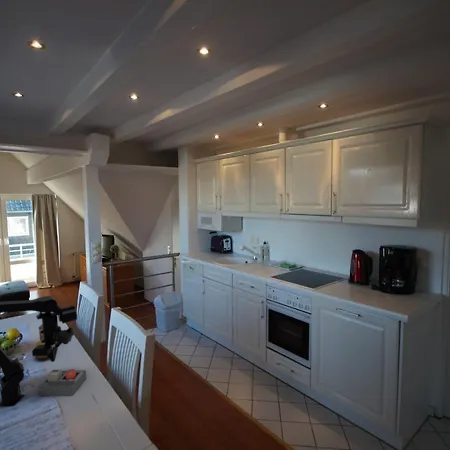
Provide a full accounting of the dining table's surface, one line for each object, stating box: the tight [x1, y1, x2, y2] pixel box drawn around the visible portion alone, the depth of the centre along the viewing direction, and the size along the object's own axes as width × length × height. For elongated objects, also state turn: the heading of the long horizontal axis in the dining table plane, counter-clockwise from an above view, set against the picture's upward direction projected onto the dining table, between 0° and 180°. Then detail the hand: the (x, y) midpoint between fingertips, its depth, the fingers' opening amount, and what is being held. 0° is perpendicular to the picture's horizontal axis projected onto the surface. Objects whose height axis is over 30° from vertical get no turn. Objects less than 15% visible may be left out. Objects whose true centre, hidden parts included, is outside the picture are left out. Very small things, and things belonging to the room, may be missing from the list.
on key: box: [46, 369, 63, 382], centre depth 135 cm, size 4×4×5 cm
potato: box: [34, 339, 49, 359], centre depth 163 cm, size 10×14×8 cm
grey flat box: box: [37, 369, 87, 397], centre depth 136 cm, size 12×14×5 cm
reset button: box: [65, 368, 76, 380], centre depth 135 cm, size 4×4×5 cm
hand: (53, 361), depth 136 cm, fingers closed
